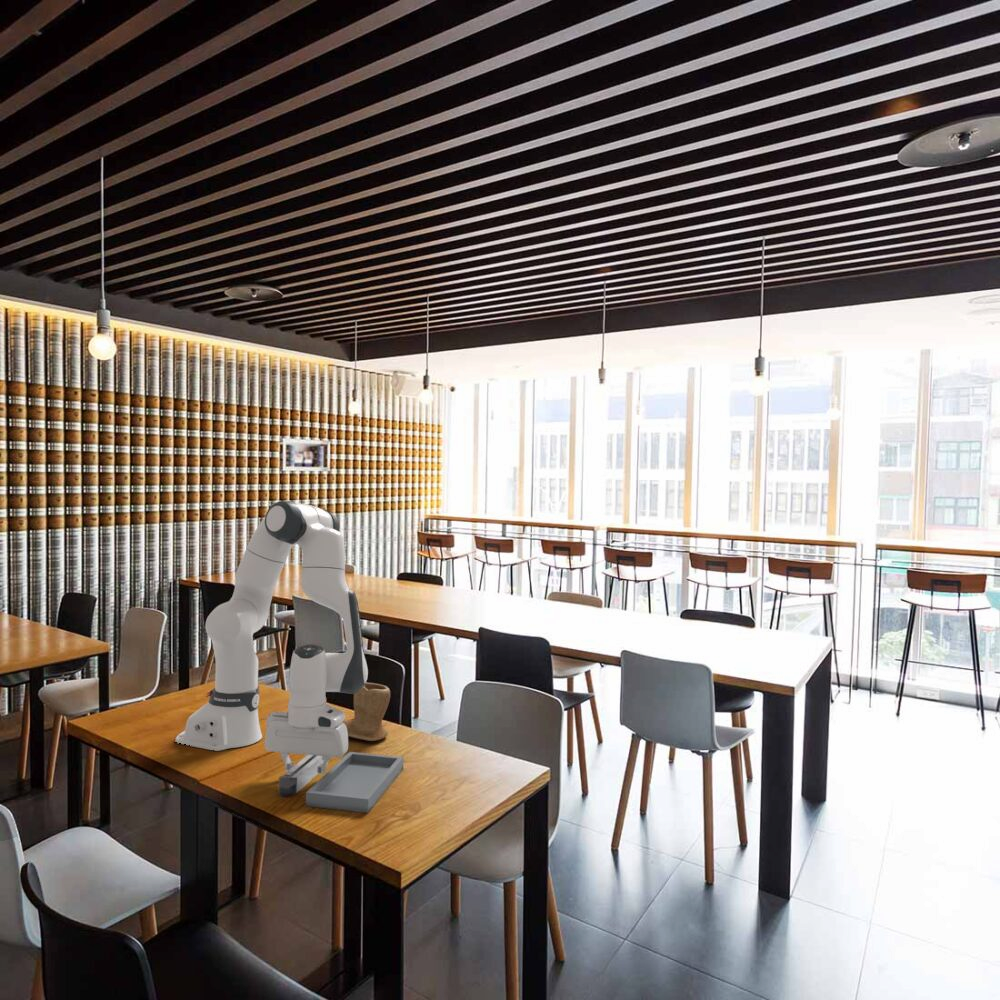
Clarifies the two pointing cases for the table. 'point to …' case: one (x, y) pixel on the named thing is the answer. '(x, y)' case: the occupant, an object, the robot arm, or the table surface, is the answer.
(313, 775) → the steel tongs
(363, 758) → the utensil tray
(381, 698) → the stone cup
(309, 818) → the table surface
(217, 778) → the table surface
